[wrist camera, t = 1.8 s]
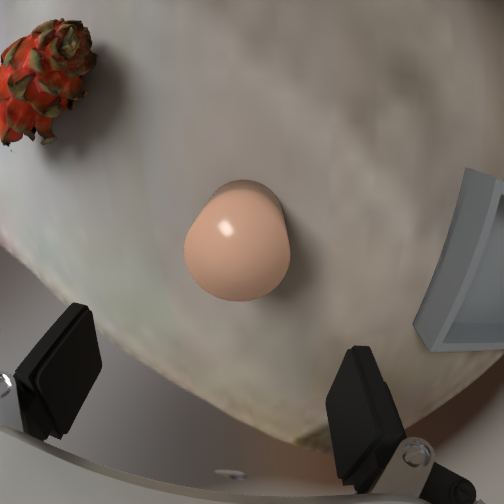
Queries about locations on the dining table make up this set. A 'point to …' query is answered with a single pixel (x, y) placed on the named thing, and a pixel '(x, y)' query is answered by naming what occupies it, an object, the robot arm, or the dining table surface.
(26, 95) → the dragon fruit
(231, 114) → the dining table surface
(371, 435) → the robot arm
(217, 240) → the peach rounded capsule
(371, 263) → the dining table surface
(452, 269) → the bin
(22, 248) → the dining table surface
